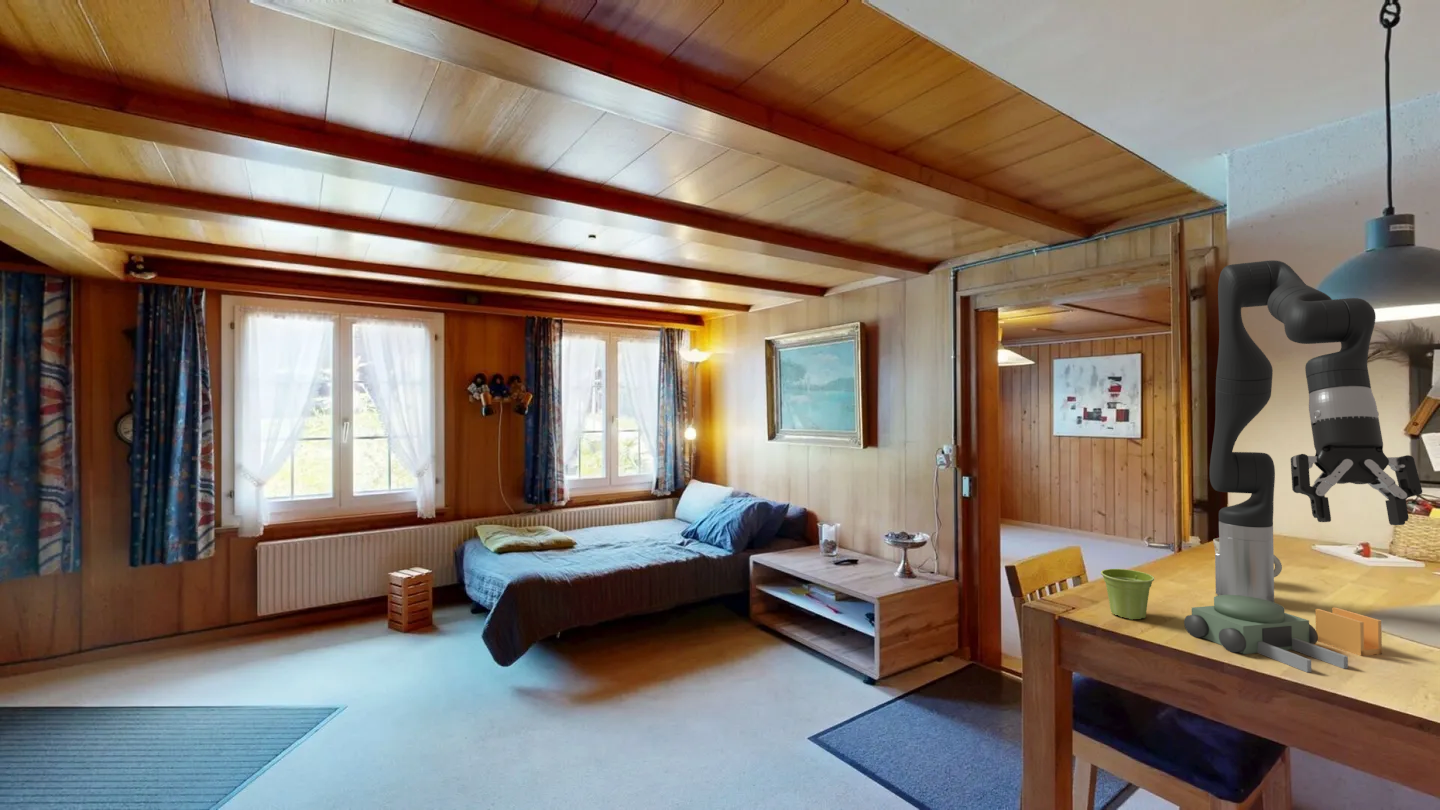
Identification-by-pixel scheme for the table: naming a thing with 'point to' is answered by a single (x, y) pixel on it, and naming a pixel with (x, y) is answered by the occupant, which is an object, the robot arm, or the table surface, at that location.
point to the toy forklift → (1259, 631)
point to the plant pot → (1127, 592)
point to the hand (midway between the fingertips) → (1360, 523)
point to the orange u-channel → (1349, 631)
